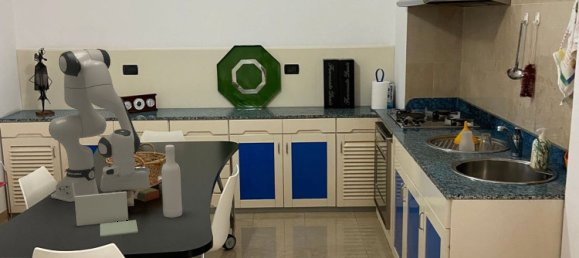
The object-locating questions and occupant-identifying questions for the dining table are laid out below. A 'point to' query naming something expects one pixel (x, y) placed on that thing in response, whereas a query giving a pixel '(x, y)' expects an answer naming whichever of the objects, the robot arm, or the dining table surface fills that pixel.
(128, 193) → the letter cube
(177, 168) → the bottle
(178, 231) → the dining table surface
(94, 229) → the dining table surface
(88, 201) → the screen
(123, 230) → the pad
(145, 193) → the carton
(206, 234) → the dining table surface
